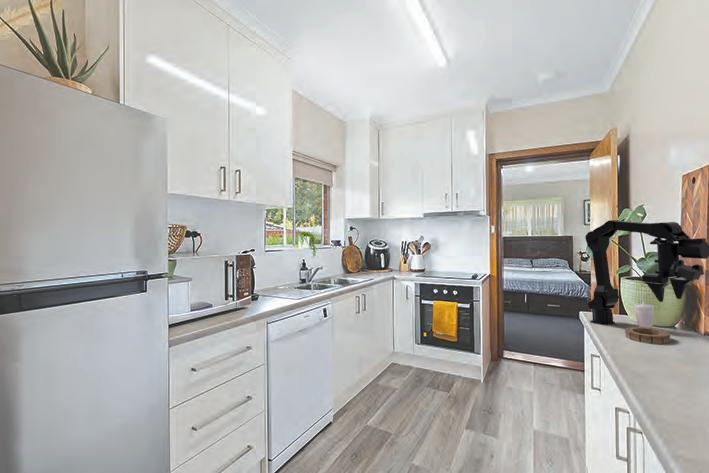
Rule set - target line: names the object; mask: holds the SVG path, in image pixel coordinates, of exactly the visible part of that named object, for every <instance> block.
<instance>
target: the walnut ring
mask: <svg viewBox="0 0 709 473" xmlns="http://www.w3.org/2000/svg"><path fill="white" fill-rule="evenodd" d="M624 331H625V332H624V333H625V338H627V339H629V340H631V341H635V342H639V343H640V342H641V343H644V342H645V343H646V344H654V345H655V344H657V345H661V344H669V343H671V335H670V332H668V331H666V330H663V329H659V328H655V327H654V328H653V327H652V328H648V327H639V326H630V327H626V328H625V329H624Z"/></svg>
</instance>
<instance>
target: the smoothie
mask: <svg viewBox="0 0 709 473" xmlns="http://www.w3.org/2000/svg"><path fill="white" fill-rule="evenodd" d="M644 296H645V295H644V294H641V303H634V304H633V308H634V311H635V315H636V321H637V324H638V327H648V328H653V323H654V322H653V321H654V314H655V312H654V310H655V309H656V308H655V307H656V306H655V305H654V304H649V303H645V298H644Z"/></svg>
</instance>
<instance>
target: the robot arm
mask: <svg viewBox="0 0 709 473" xmlns="http://www.w3.org/2000/svg"><path fill="white" fill-rule="evenodd" d="M617 231H622V232H623V231H624V232H629V233H630V232H631V233H640V234H646V235H648V236H650V237H654V239H653V240H651V241H650V242H649V244H650V245H657V246H656V248H657V250H656V252H657V259H654V263H655V264H657V270H654V272H649V273H644V274H643V275H641V281H642V282H644V284H646V285H647V286H648V287H649V289H650V290H651V292H652V293H653V295H654V296H655V298H656V299H657V301H658V302H659V303H663V302H664V297H665V288H666V287H667V286H669V283H668V282H669V281H670V284H671V287H672V290H673V294H674V295H675V298H676V299H678V300H681V299H682V297H683V295H684V292H685V290H686V287H688V285H689V284H690V283H693V282H694V281H696V280H697V281H699V280H700V278H701V276H702V275H704V274H705V272H704V267H703V265H701V264H693V265H686V264H685V260H684V259H701V260H703V259H704V260H705V259H709V243H708V242H707V239H706V237H705V238H704V237H703V238H702V237H700V238H698V237H697V238H691V237H690V236H689V235H688V234H687V233H686V232H685V231H684V230H683V229H682V226H681V225H680V223H678V222H676V221H668V222H667V221H666V222H654V223H653V222H651V223H650V222H637V221H628V220H627V221H626V220H618V219H611V220H607V221H605V222H604V223H603V224H602V225H600V226H598V227H596V228H594V229H593V230H591V231H588V233H587V234H586V235H585V238H584V239H585V241H586V245H587V247H588V249H589V250H590V251H591V253H592V259H593V267H594V274H595V283H596V286H595V288H594V290H593V299H591V300H590V301H589V302H588V303H587V306H588V308H589V309H590V310H592V311H591V312H592V313H591V314H592V316H591V317H592V320H589V322H590V323H594V324H599V325H602V326H607V325H612V324H613V325H615V324H616V321H614V314H613V312H612V311H613V310H612V309H615V306H616V304H617V303H618V302H619V300H620V296H619V295H620V294H619V290H618V288H614V287H613V285H612V282H611V275H610V268H609V262H608V254H607V250H608V248H609V245H610V239H611V238H612V237H613V236H614V235H615V234H616V233H617ZM680 257H681V258H683V259H680Z"/></svg>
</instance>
